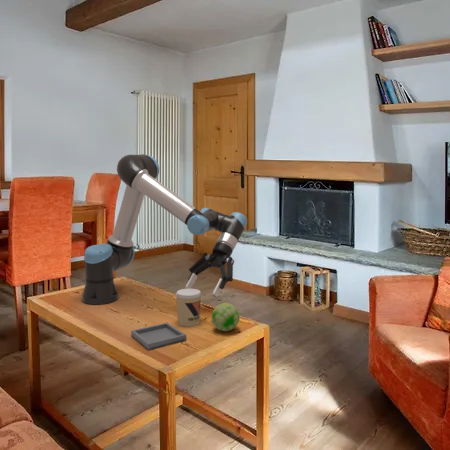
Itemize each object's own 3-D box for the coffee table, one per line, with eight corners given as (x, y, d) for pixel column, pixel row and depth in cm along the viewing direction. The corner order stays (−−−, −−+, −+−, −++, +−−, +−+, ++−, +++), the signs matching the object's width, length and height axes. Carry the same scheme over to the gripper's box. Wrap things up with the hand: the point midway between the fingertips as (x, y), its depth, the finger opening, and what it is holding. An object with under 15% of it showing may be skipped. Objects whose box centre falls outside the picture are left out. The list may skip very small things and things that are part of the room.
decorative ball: (222, 323, 171) (222, 297, 170) (244, 329, 166) (244, 302, 164) (206, 331, 163) (205, 304, 162) (229, 338, 158) (229, 310, 156)
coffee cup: (188, 329, 166) (188, 297, 164) (171, 323, 172) (170, 292, 170) (206, 322, 172) (206, 291, 171) (189, 316, 179) (188, 286, 177)
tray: (131, 336, 159) (131, 330, 159) (167, 327, 167) (167, 322, 167) (148, 350, 148) (148, 344, 148) (186, 340, 156) (186, 334, 155)
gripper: (254, 255, 179) (231, 303, 169) (205, 248, 194) (181, 291, 184) (246, 244, 174) (222, 292, 164) (196, 237, 189) (172, 281, 179)
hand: (201, 292), depth 174 cm, fingers open, 13 cm apart
